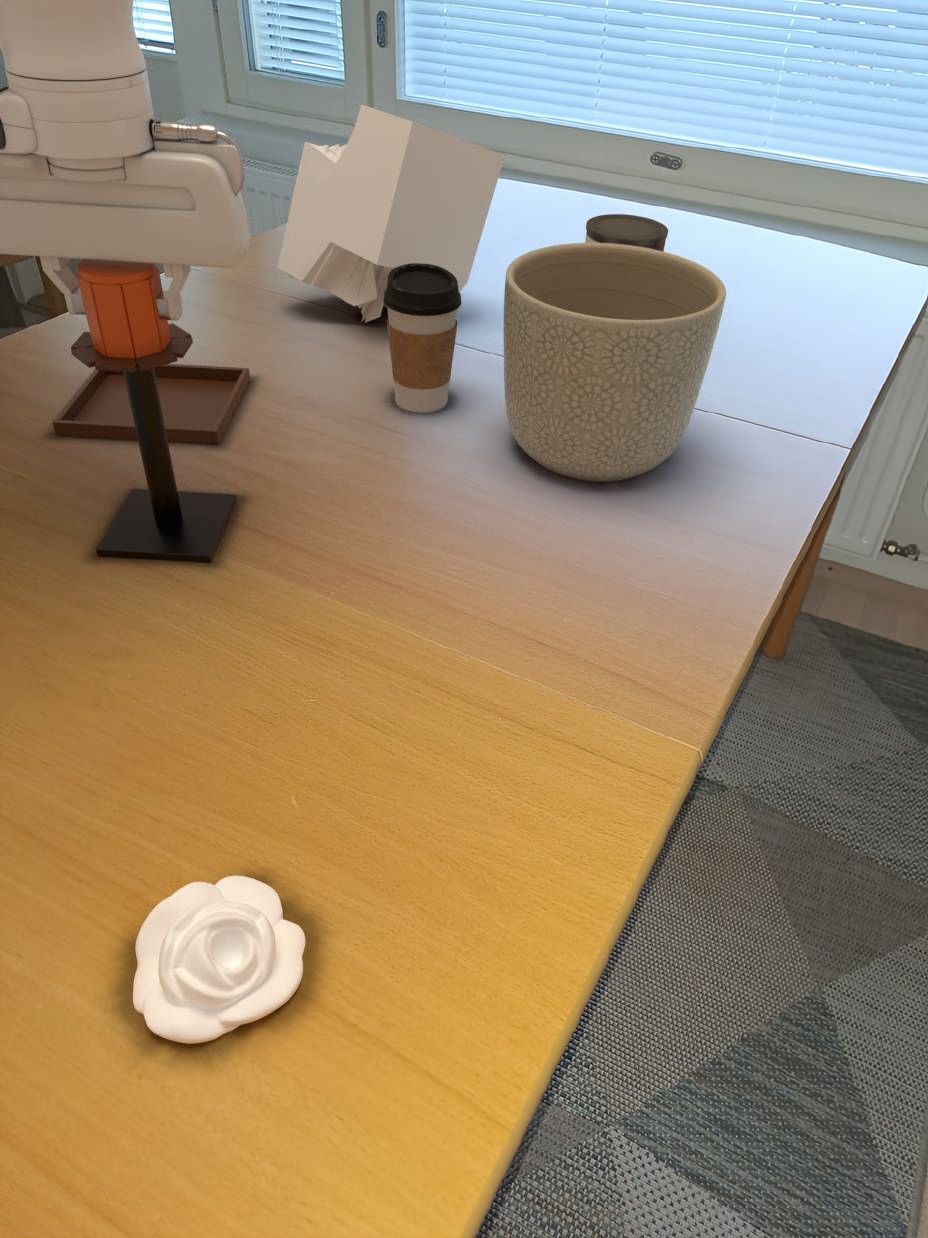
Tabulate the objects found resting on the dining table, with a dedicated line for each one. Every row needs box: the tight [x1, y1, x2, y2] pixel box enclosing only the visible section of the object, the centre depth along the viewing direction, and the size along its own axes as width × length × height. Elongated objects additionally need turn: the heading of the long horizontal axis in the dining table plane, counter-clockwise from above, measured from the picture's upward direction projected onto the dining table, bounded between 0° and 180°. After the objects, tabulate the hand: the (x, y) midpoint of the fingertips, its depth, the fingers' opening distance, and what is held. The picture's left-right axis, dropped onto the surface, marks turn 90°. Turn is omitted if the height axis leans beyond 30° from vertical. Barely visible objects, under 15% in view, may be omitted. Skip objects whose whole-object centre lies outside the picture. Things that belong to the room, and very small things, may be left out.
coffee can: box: [584, 213, 669, 252], centre depth 119 cm, size 10×10×14 cm
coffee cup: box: [383, 263, 463, 414], centre depth 101 cm, size 8×8×15 cm
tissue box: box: [276, 104, 506, 323], centre depth 119 cm, size 20×16×25 cm
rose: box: [132, 875, 306, 1044], centre depth 51 cm, size 10×4×10 cm
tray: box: [51, 363, 251, 446], centre depth 101 cm, size 17×15×2 cm
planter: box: [503, 242, 727, 483], centre depth 93 cm, size 21×21×19 cm
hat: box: [70, 259, 194, 372], centre depth 71 cm, size 9×9×7 cm
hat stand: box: [95, 368, 238, 564], centre depth 78 cm, size 10×10×20 cm
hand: (126, 314), depth 71 cm, fingers closed on hat, 5 cm apart
